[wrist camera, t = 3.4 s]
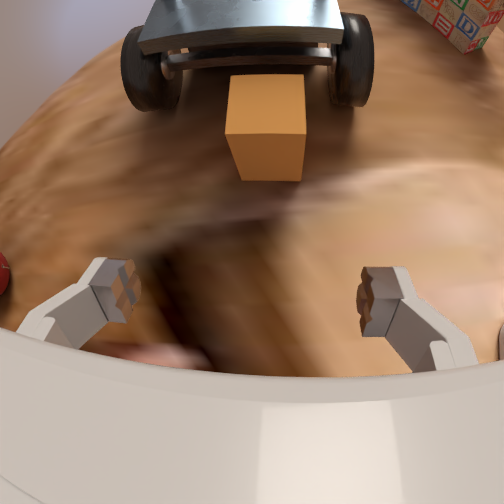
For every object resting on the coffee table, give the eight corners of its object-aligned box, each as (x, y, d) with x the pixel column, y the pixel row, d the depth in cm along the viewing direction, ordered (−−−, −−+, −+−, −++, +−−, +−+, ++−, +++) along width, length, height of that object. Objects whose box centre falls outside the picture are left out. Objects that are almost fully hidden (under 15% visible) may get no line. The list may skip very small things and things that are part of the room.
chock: (300, 181, 26) (306, 134, 18) (241, 180, 26) (224, 134, 18) (299, 131, 26) (303, 74, 18) (244, 130, 27) (231, 75, 19)
